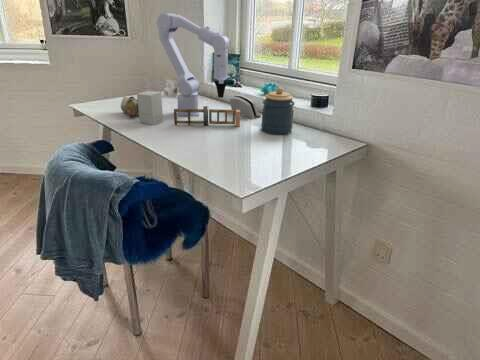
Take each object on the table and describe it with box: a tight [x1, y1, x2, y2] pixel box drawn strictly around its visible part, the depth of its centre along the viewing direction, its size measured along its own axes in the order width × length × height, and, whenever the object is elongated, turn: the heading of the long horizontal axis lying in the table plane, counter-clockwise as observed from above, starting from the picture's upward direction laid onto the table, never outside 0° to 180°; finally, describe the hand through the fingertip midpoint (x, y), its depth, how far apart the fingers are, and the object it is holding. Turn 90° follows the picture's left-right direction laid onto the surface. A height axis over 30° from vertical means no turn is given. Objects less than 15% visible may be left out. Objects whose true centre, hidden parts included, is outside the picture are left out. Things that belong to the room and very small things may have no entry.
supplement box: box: [136, 90, 164, 126], centre depth 151 cm, size 7×7×13 cm
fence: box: [173, 108, 204, 126], centre depth 150 cm, size 12×1×7 cm, turn 94°
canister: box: [260, 87, 296, 136], centre depth 145 cm, size 13×13×18 cm
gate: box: [208, 108, 236, 125], centre depth 151 cm, size 11×1×6 cm, turn 93°
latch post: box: [235, 110, 241, 128], centre depth 152 cm, size 2×4×6 cm, turn 4°
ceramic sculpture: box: [120, 96, 139, 118], centre depth 162 cm, size 11×9×15 cm
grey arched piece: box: [229, 94, 262, 120], centre depth 168 cm, size 17×5×10 cm, turn 37°
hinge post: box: [202, 105, 209, 127], centre depth 150 cm, size 2×2×8 cm
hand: (220, 97), depth 159 cm, fingers closed
